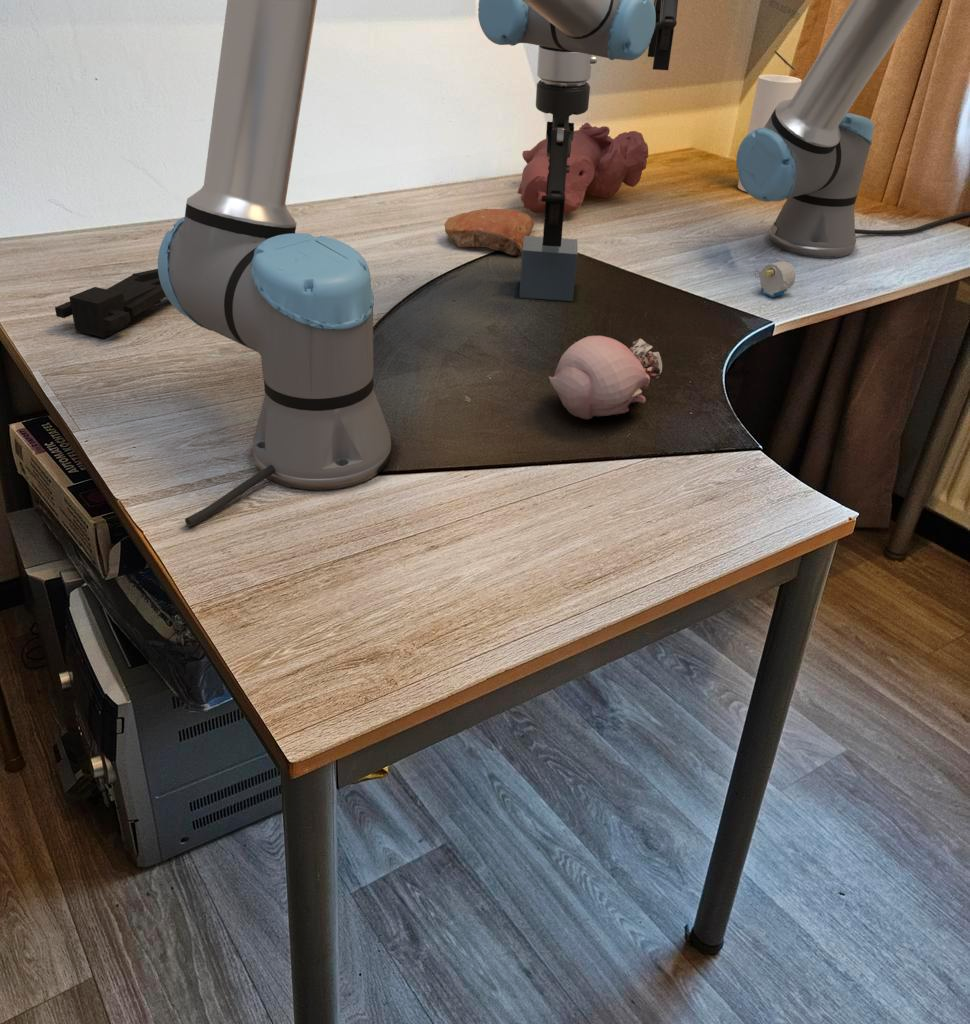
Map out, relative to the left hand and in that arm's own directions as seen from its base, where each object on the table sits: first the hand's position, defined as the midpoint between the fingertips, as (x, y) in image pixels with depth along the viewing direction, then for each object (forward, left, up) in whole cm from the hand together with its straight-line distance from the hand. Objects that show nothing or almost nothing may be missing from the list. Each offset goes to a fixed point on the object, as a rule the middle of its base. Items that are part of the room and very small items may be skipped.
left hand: (552, 230), depth 147 cm
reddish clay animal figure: (+47, +8, -10) cm, 49 cm away
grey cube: (0, 0, -10) cm, 10 cm away
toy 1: (-29, +51, -10) cm, 60 cm away
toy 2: (-36, -17, -10) cm, 41 cm away
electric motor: (+14, -34, -10) cm, 38 cm away
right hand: (+50, -5, +17) cm, 53 cm away
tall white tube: (+77, -25, -10) cm, 81 cm away
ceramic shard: (+19, +16, -10) cm, 27 cm away
